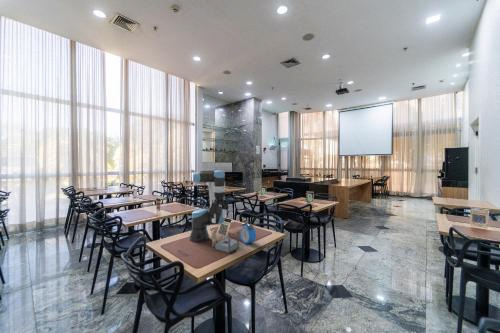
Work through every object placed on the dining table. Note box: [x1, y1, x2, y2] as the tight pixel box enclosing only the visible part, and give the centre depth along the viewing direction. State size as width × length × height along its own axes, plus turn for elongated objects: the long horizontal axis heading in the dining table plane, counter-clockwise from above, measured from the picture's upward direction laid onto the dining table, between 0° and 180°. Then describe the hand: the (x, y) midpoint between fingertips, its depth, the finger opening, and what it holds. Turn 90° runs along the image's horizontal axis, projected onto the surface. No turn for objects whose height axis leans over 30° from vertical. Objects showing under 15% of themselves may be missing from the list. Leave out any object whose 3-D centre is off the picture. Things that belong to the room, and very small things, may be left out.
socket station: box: [214, 226, 243, 254], centre depth 153 cm, size 16×12×15 cm
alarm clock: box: [239, 221, 257, 245], centre depth 164 cm, size 13×6×15 cm, turn 41°
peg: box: [211, 229, 217, 248], centre depth 157 cm, size 3×3×12 cm
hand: (219, 220), depth 158 cm, fingers open, 13 cm apart
